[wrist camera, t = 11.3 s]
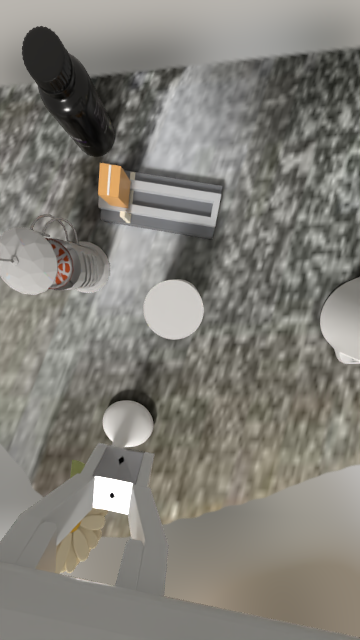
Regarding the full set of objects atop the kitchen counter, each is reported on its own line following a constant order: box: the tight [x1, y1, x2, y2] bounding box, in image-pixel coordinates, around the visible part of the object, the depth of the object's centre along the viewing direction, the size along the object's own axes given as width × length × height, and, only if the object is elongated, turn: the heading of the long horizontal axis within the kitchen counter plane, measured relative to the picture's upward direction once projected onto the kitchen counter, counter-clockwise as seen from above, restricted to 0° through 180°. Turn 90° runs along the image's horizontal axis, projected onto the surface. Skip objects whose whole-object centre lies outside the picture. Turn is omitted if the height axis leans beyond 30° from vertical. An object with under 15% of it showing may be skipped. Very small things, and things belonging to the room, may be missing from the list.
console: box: [98, 170, 222, 239], centre depth 31 cm, size 20×8×5 cm, turn 80°
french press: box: [0, 214, 110, 295], centre depth 25 cm, size 10×12×25 cm
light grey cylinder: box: [144, 279, 204, 339], centre depth 31 cm, size 8×8×12 cm
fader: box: [98, 163, 131, 208], centre depth 29 cm, size 3×4×6 cm
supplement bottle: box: [22, 26, 114, 157], centre depth 26 cm, size 7×7×12 cm
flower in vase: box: [55, 400, 154, 574], centre depth 31 cm, size 13×11×25 cm
